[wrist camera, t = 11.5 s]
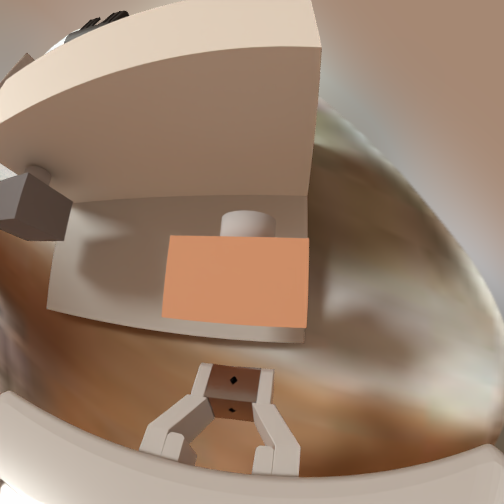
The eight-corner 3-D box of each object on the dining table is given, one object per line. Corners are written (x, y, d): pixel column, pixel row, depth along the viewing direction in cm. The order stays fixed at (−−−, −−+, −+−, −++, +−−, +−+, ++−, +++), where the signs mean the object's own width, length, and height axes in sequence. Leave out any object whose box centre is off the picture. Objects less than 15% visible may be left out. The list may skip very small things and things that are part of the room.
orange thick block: (299, 325, 14) (306, 327, 9) (202, 319, 14) (161, 317, 10) (302, 238, 15) (309, 198, 10) (209, 235, 15) (175, 198, 11)
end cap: (76, 72, 31) (56, 46, 25) (100, 44, 33) (84, 19, 26) (116, 66, 30) (96, 34, 23) (143, 37, 31) (127, 6, 24)
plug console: (302, 341, 19) (337, 388, 5) (57, 310, 22) (-68, 286, 8) (304, 140, 22) (307, -10, 9) (88, 157, 25) (6, 79, 12)
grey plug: (64, 241, 17) (14, 218, 12) (27, 240, 17) (-17, 221, 13) (78, 183, 18) (36, 151, 13) (40, 189, 18) (1, 164, 14)
